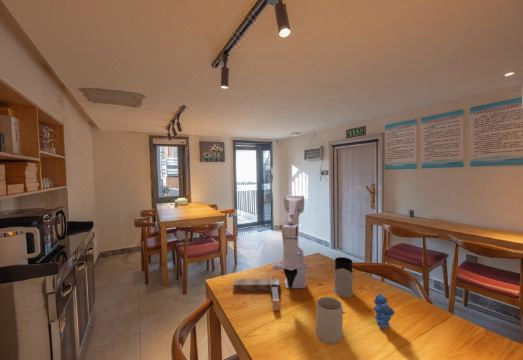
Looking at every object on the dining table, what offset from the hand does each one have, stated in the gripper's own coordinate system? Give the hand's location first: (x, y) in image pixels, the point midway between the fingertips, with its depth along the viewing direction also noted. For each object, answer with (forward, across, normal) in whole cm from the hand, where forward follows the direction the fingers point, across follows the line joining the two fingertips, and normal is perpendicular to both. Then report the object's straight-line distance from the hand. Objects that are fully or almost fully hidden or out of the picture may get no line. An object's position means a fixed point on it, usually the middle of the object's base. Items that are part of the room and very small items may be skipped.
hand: (290, 286), depth 96 cm
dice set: (+9, +18, -4) cm, 21 cm away
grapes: (+8, +32, -13) cm, 36 cm away
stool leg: (+8, -6, +4) cm, 11 cm away
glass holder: (+8, +27, +14) cm, 31 cm away
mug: (+9, +12, -15) cm, 21 cm away
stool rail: (+8, -14, +13) cm, 21 cm away
